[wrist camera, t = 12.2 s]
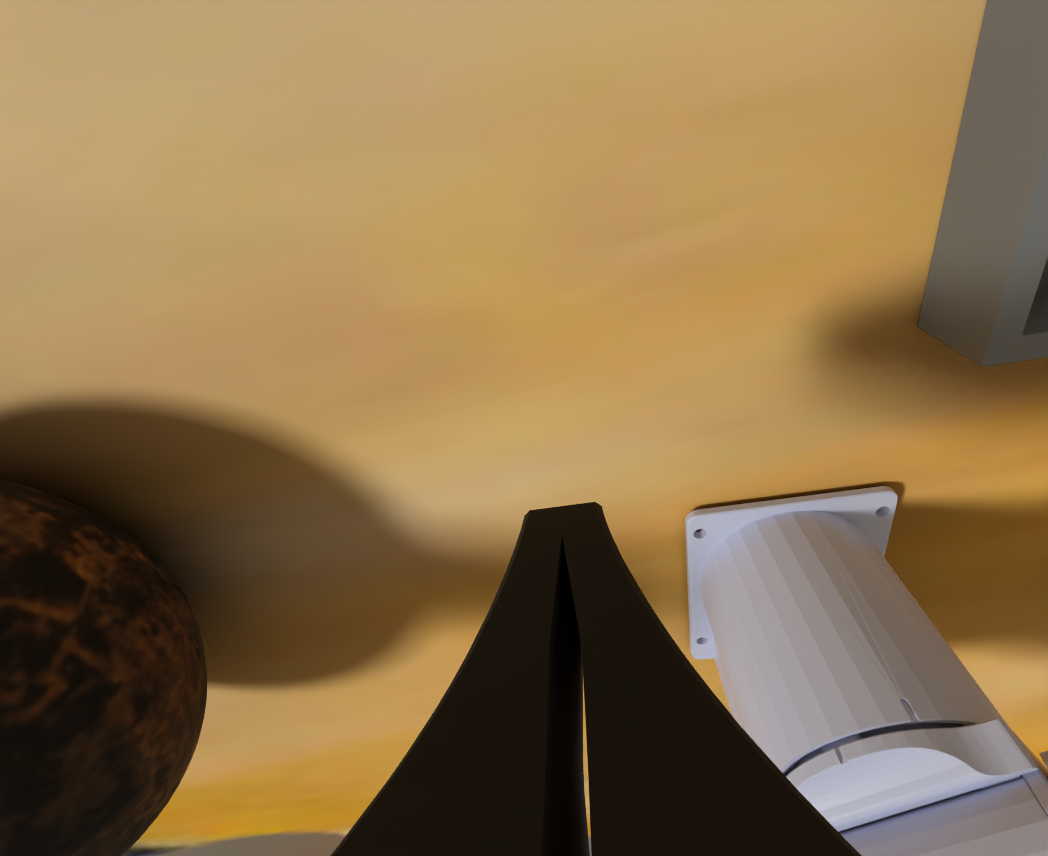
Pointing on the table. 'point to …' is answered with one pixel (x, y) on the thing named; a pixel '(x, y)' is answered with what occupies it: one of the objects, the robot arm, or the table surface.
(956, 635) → the table surface
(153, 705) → the dark brown vase
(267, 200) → the table surface
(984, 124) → the rack
